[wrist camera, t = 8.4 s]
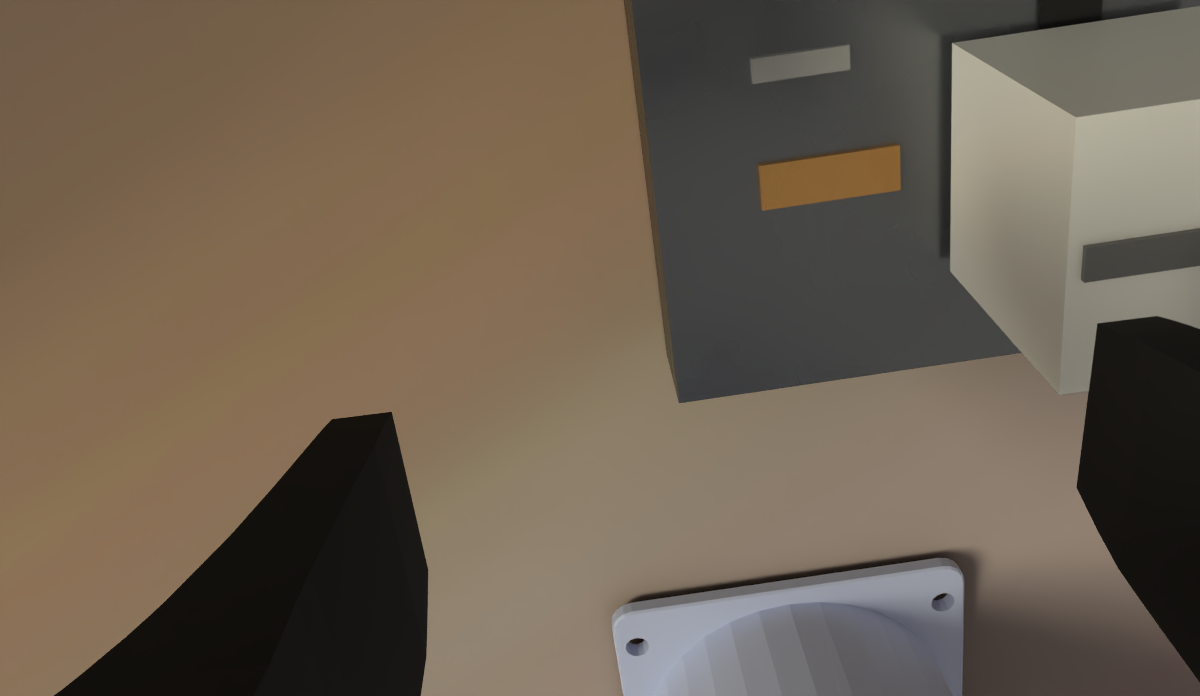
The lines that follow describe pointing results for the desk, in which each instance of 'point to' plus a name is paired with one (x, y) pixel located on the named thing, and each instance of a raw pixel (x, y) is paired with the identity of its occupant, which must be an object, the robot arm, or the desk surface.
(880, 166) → the console panel
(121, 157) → the desk surface
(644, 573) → the desk surface
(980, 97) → the fader cap
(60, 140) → the desk surface
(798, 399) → the desk surface
